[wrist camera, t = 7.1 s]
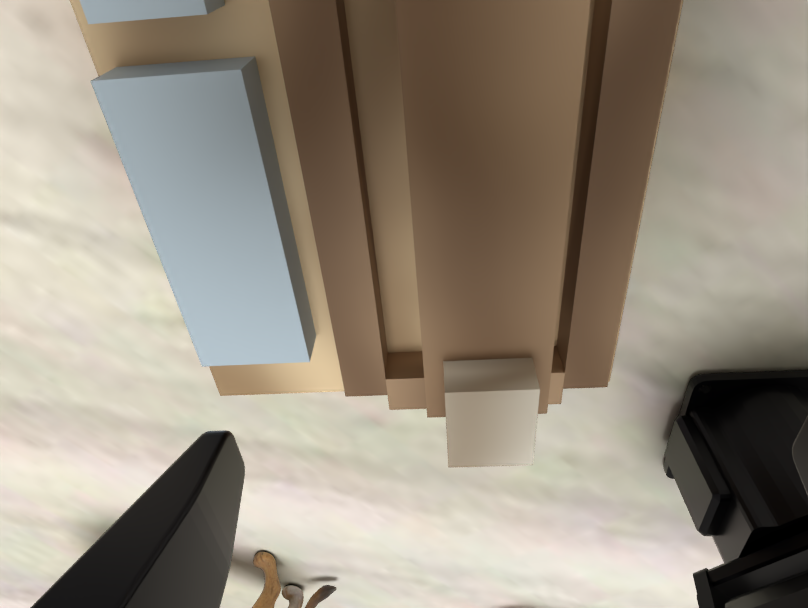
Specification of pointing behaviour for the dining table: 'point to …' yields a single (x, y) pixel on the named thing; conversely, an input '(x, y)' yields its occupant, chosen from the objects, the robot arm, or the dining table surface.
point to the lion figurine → (291, 593)
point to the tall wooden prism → (490, 207)
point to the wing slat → (213, 204)
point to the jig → (389, 179)
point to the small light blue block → (145, 9)
